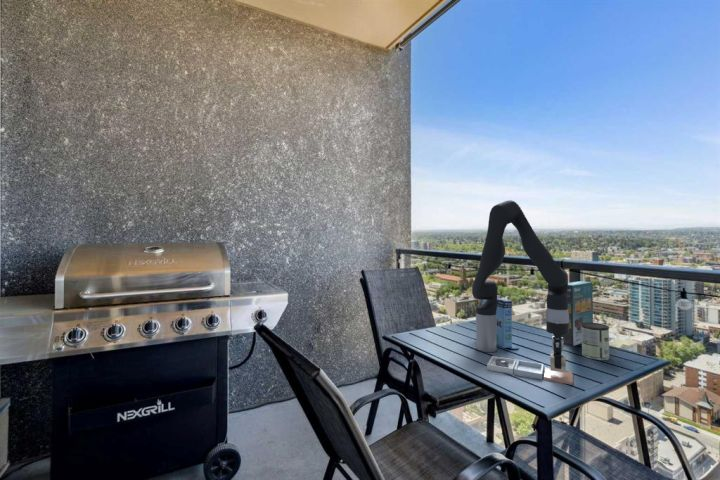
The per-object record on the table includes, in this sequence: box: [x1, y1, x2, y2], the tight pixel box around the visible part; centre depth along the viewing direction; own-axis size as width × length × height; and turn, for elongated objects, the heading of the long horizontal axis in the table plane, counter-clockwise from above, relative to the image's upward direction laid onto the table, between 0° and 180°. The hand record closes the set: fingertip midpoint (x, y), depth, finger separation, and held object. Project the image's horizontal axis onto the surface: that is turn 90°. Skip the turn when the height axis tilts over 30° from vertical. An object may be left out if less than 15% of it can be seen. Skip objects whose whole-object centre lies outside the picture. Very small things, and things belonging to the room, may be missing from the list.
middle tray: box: [513, 359, 545, 381], centre depth 133 cm, size 12×10×2 cm
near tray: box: [486, 355, 518, 375], centre depth 138 cm, size 12×10×2 cm
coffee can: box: [581, 322, 610, 361], centre depth 150 cm, size 10×10×14 cm
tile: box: [543, 367, 574, 386], centre depth 128 cm, size 11×9×1 cm
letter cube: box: [549, 353, 567, 373], centre depth 128 cm, size 5×5×5 cm
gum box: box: [480, 296, 513, 349], centre depth 173 cm, size 20×5×23 cm, turn 13°
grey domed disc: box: [496, 359, 509, 367], centre depth 138 cm, size 5×5×2 cm
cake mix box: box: [562, 280, 594, 347], centre depth 174 cm, size 22×6×30 cm, turn 123°
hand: (558, 364), depth 128 cm, fingers closed on letter cube, 5 cm apart
